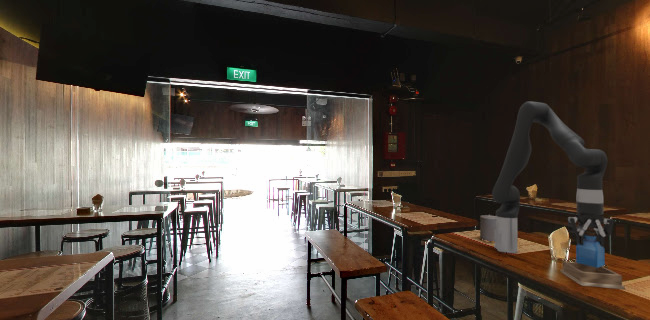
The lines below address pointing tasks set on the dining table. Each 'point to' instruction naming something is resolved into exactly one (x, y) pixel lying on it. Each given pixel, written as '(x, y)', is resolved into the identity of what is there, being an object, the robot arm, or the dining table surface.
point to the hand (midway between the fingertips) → (590, 245)
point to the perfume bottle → (590, 251)
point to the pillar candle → (487, 227)
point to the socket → (592, 275)
